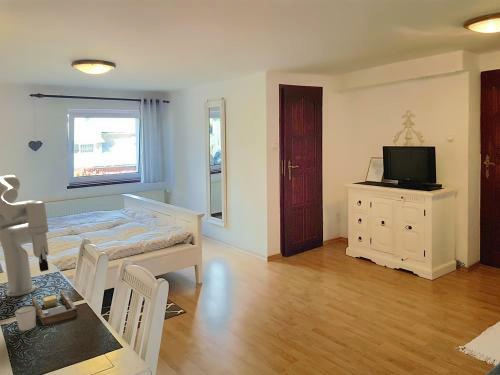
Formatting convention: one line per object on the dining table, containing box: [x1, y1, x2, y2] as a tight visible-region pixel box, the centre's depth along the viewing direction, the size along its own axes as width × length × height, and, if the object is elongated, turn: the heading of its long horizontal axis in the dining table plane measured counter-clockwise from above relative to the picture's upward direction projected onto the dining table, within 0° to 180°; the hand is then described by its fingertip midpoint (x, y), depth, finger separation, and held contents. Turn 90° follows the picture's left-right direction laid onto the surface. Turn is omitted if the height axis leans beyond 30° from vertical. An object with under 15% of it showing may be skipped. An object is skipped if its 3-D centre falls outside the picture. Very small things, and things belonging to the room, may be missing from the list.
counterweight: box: [47, 305, 67, 315], centre depth 161 cm, size 6×6×3 cm
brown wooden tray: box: [31, 289, 78, 326], centre depth 168 cm, size 26×12×3 cm, turn 36°
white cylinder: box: [14, 305, 37, 332], centre depth 153 cm, size 7×7×7 cm
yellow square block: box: [42, 294, 59, 308], centre depth 174 cm, size 5×5×3 cm
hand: (44, 270), depth 178 cm, fingers closed
